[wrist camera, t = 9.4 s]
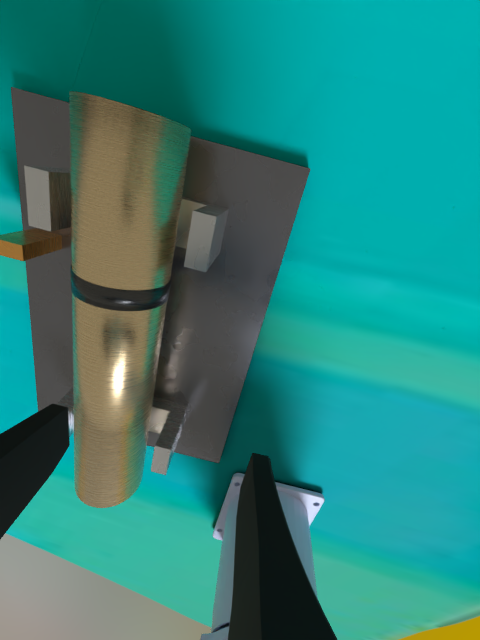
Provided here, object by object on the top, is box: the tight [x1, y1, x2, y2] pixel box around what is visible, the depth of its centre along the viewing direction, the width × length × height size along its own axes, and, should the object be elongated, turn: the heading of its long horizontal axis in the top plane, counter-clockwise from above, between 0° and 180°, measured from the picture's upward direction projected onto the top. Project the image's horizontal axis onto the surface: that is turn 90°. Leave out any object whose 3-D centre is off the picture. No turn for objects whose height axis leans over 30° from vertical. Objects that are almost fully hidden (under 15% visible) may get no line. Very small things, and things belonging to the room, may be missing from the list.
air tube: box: [69, 91, 192, 508], centre depth 16 cm, size 22×4×4 cm, turn 166°
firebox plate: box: [0, 87, 310, 475], centre depth 17 cm, size 22×15×5 cm
